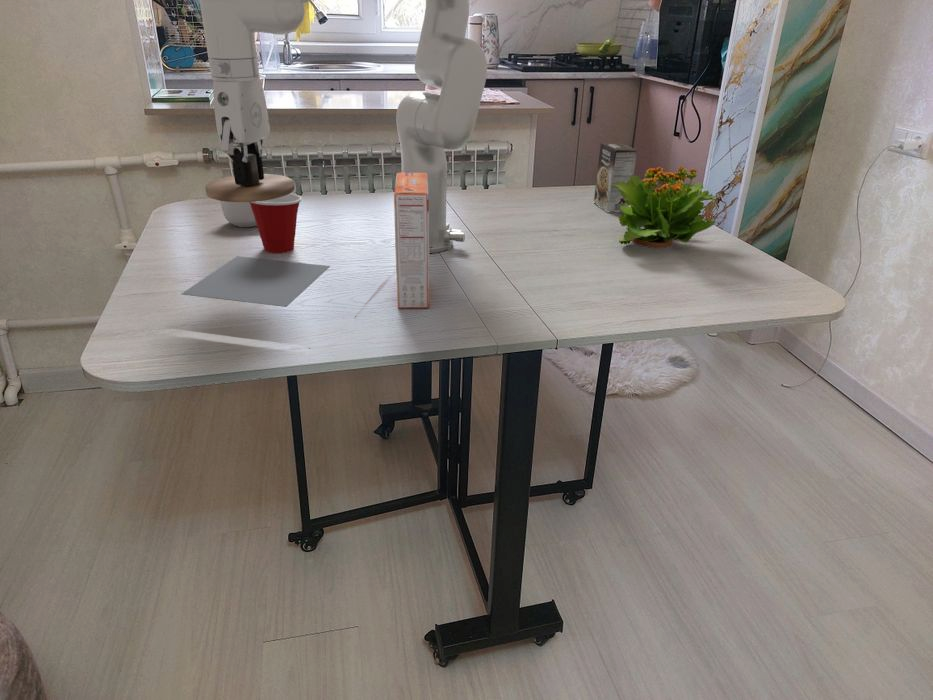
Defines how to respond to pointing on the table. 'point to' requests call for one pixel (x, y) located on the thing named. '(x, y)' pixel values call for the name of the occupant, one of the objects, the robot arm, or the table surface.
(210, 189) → the lid
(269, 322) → the table surface
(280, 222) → the plastic cup
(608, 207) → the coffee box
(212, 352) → the table surface
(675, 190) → the potted flower
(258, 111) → the robot arm
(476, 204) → the table surface
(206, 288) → the mat
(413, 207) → the cracker box
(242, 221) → the teacup
